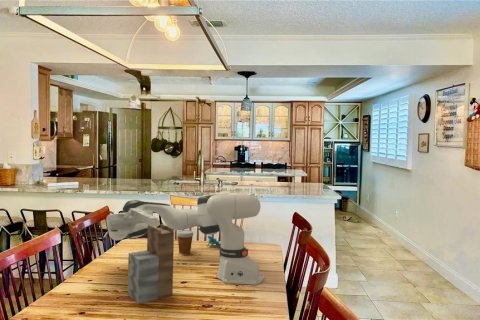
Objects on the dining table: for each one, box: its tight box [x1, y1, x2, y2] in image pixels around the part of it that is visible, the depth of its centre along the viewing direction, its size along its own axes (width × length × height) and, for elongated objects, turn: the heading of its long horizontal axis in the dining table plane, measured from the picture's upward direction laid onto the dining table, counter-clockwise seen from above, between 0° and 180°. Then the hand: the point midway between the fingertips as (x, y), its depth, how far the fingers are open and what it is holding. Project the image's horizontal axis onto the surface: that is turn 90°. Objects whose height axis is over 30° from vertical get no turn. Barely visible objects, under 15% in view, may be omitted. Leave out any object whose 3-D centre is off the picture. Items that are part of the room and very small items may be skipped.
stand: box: [127, 223, 175, 305], centre depth 149 cm, size 11×14×28 cm
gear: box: [206, 235, 221, 249], centre depth 223 cm, size 11×6×10 cm
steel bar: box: [130, 208, 159, 227], centre depth 153 cm, size 22×3×3 cm, turn 38°
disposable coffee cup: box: [176, 229, 194, 255], centre depth 210 cm, size 10×10×12 cm
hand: (136, 211), depth 159 cm, fingers closed on steel bar, 3 cm apart
